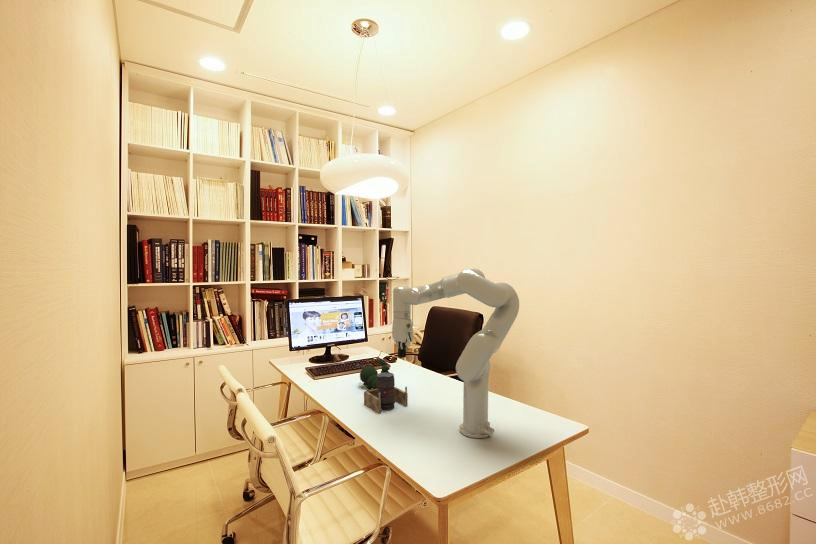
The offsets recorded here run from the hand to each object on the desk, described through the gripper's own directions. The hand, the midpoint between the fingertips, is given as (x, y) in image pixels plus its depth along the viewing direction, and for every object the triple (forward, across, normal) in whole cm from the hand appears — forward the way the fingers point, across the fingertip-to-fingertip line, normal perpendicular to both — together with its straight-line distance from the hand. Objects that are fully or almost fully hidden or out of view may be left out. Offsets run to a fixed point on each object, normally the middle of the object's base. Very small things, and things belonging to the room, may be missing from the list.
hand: (402, 357), depth 161 cm
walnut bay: (+25, +12, 0) cm, 28 cm away
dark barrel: (+25, +10, +1) cm, 27 cm away
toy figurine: (+25, +34, -6) cm, 43 cm away
